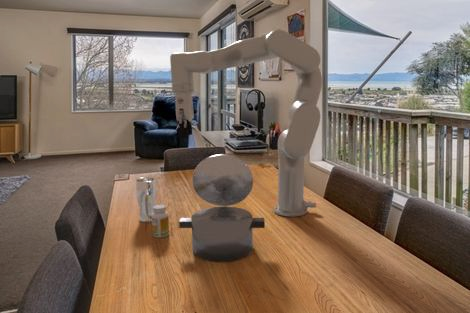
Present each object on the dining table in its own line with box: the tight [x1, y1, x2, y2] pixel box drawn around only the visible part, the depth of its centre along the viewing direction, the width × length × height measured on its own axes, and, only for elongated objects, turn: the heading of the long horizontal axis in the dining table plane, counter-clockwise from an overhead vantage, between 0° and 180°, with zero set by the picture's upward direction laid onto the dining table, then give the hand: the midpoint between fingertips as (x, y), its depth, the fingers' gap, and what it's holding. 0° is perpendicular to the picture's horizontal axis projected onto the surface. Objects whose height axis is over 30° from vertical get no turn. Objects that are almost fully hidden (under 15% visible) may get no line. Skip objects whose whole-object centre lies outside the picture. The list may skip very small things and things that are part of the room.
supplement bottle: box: [151, 204, 170, 239], centre depth 121 cm, size 5×5×10 cm
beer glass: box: [135, 176, 157, 223], centre depth 135 cm, size 7×7×15 cm
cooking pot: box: [178, 206, 266, 263], centre depth 111 cm, size 25×18×10 cm
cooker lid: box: [192, 153, 254, 207], centre depth 116 cm, size 19×19×3 cm
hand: (185, 136), depth 135 cm, fingers open, 9 cm apart
